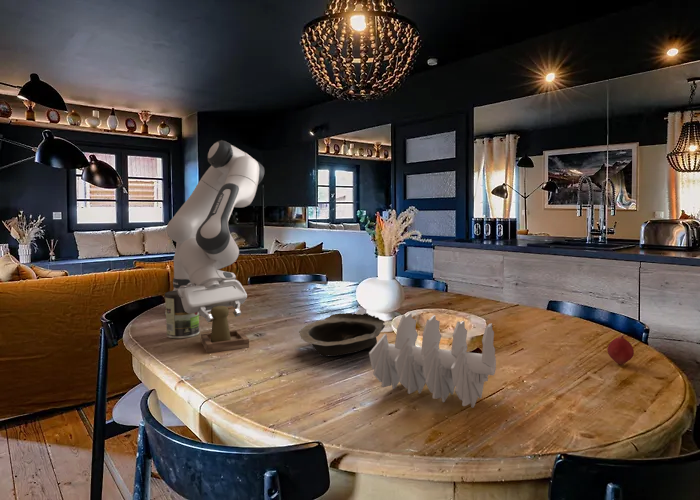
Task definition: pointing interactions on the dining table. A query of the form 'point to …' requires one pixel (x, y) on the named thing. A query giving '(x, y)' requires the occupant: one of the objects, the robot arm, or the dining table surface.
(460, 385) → the spiral staircase
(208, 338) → the walnut socket block
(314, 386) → the dining table surface
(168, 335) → the coffee can
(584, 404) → the dining table surface
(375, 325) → the stone bowl
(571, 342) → the dining table surface
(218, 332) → the cork
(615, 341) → the onion
